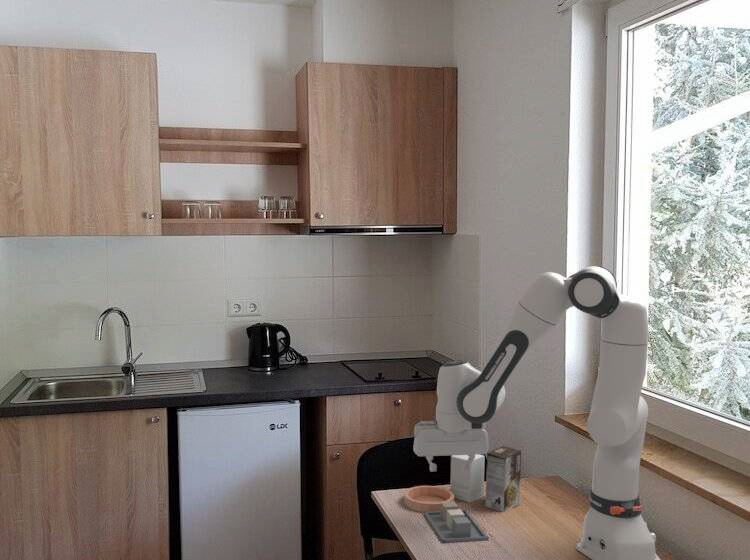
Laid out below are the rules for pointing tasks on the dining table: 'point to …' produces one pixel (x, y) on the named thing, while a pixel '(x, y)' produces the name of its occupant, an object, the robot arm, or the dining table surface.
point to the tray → (447, 534)
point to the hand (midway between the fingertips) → (449, 470)
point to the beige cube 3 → (453, 516)
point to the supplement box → (467, 478)
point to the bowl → (427, 498)
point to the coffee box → (503, 478)
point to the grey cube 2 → (461, 527)
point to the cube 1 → (447, 508)
